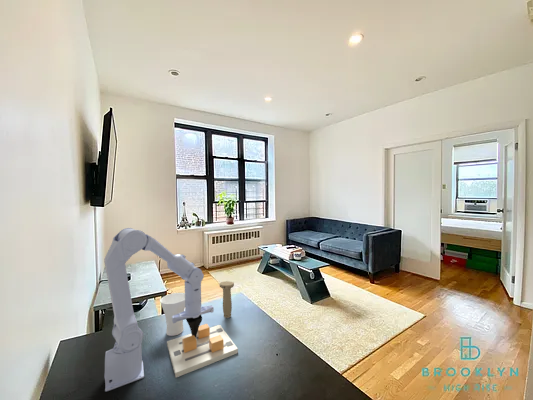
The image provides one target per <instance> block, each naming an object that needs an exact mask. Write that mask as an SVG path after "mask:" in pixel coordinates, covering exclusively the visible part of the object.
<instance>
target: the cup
mask: <svg viewBox="0 0 533 400" xmlns="http://www.w3.org/2000/svg"><path fill="white" fill-rule="evenodd" d="M159 303H160V305H161V307H162V310H163V312H164V317H165V323H166V332H165V334H166V335H167V336H169V337H175V336H177V335H180V334H182V333H183V331H184V330H185V329H184V320H181V321H177V322H176V323H173V322H172V316H173V315H176V314H179V313H181V312H183V311H185V292H173V293H169V294H167V295H164V296H162V297H161V298H160V299H159Z"/></svg>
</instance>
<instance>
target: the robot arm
mask: <svg viewBox="0 0 533 400" xmlns="http://www.w3.org/2000/svg"><path fill="white" fill-rule="evenodd" d="M141 250H142V251H144V252H146V251H148V252H149V251H150V252H152V253H153V254H154V255H156V256H157V257H159V258H160V259H162V260H163V261H165V262H166V264H167V268H168V269H169V270H171V271H172V272H173V273H175V274H176V275H178V277H180V278H181V279H182V280H183V281H184V293H185V309H184V311H183V312H181V313H179V314H176V315H173V316H172V322H173V323H176V322H177V321H181V320H183V321H186V323H187V325H188V326H189V329H190V334H192V336H193V335H194V336H195V337H197V332H198V328H199V326H201V323H202V320H203V316H202V315H205V314H209V313H211V314H212V313H214V310H215V309H214V306H213V305H206V306H202V281H203V279H204V278H205V277H204V275H205V274H204V273H203V271H202V269H201V268H199V267H197V266H195V263H194V262H191V261H189V260H188V259H186V257H187V256H186V255H184V254H180V253H176V254H174V253H172V251H170V250H169V249H168V248H167V247H165V246H164V245H163V244H162V243H160V242H159V241H158V240H157V239H156V238H155V237H152V236H150V235H149V234H146V233H145V232H143V230H139V229H135V228H131V227H126V228H123V229H121V230H119V232H118V233H116V234H115V236H114V237H113V238H112V242H111V245H110V246H109V249H108V251H107V252H106V254H105V256H104V267H105V268H104V269H105V273H106V277H107V285H108V288H109V294H110V299H111V304H112V311H113V316H114V318H113V326H112V331H111V335H112V337H113V338H114V340H115V342H114V346H113V348H110V349H109V350H106V351H105V356H104V383H105V384H104V385H105V388H104V392H109V391H112V390H115V389H117V388H120V387H123V386H125V385H128V384H130V383H133V382H137V381H138V380H141V379H143V378H144V377H145V372H144V369H145V368H144V362H143V360H142V359H143V357H142V356H143V355H142V351H143V350H142V342H143V340H144V332H143V330H142V329H141V328H140V327H139V325H138V321H137V318H136V315H135V312H134V306H133V302H132V301H133V300H132V296H131V294H132V293H131V290H130V289H131V288H130V284H129V278H128V272H127V267H126V263H127V262H128V261H129V259H130V258H131V257H132V256H134V255H135V254H137V253H138V252H140V251H141Z"/></svg>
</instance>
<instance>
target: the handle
mask: <svg viewBox="0 0 533 400" xmlns="http://www.w3.org/2000/svg"><path fill="white" fill-rule="evenodd" d="M234 287H235V282H234V281H229V280H228V281H221V282H219V288H221V289H222V313H223V317H224V318H225V319H229V318H231V317H232V310H233V309H232V308H233V306H232V305H233V304H232V303H233V301H232V288H234Z"/></svg>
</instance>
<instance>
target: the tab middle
mask: <svg viewBox="0 0 533 400" xmlns="http://www.w3.org/2000/svg"><path fill="white" fill-rule="evenodd" d="M182 345H183V350H184V353H185V352H188V351H191V350H194V349H197V342H196V338H195V336H194V335H193V336H190V337H187V338H184V339H182Z"/></svg>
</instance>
